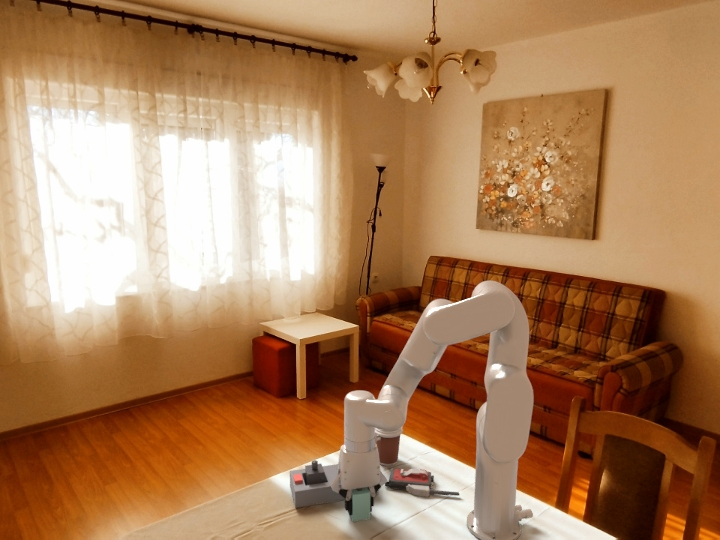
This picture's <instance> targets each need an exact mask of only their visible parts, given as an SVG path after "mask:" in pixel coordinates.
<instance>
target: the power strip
mask: <svg viewBox="0 0 720 540" xmlns="http://www.w3.org/2000/svg"><path fill="white" fill-rule="evenodd" d="M337 476H338V463H337V464H336V463H335V464H329V465H328V464H327V465H323V464H322V463H319V462H318V460H312V461H311V464H309V465H304V468H301V469H293V470H289V488H290V492H291V495H292V501H293V503H294V507H295V509H296V508H303V507H309V506H315V505H321V504H322V505H323V504H328V503H333V502H334V503H335V502H340V501H345V498H344V497H342V496H341V495H340V494H339V493H337V492H335V491H333V490H332V488H331V485H332V484H333V482H334V481H335V479H336V478H337ZM339 487H341V484H340V485H339ZM378 491H379V490H378ZM378 491H377V492H376V495H375V496H377V495H378V493H379V492H378Z"/></svg>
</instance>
